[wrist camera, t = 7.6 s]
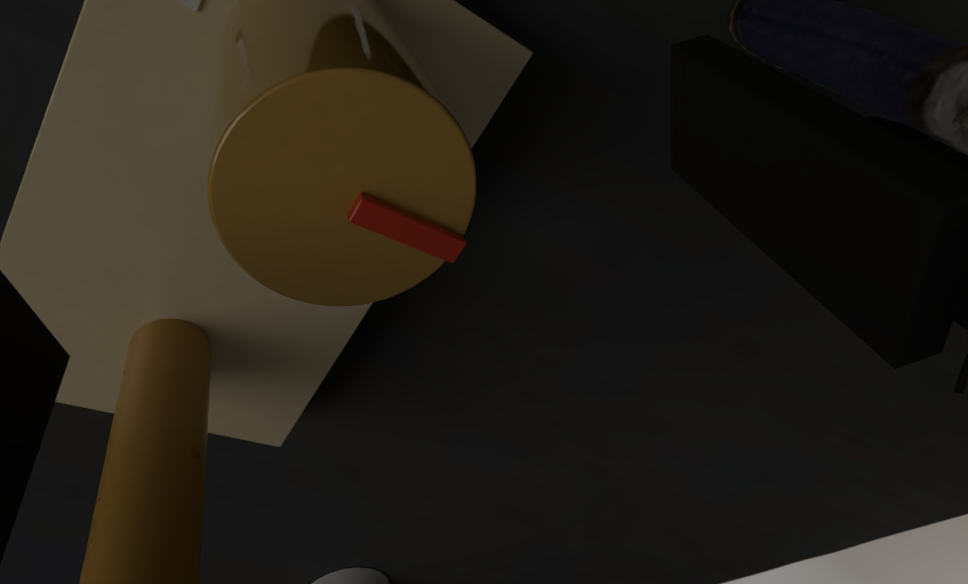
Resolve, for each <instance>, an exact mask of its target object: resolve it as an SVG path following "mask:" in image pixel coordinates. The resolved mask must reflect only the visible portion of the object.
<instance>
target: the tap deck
mask: <svg viewBox="0 0 968 584" xmlns="http://www.w3.org/2000/svg"><path fill="white" fill-rule="evenodd" d="M238 1H239V0H85V1H84V4H83V7H82V10H81V13H80V15H79V18H78V21H77V24H76V27H75V30H74V33H73V35H72V38H71V41H70V44H69V47H68V50H67V53H66V55H65V58H64V61H63V64H62V67H61V70H60V73H59V75H58V78H57V81H56V84H55V87H54V90H53V93H52V96H51V98H50V101H49V104H48V107H47V110H46V113H45V116H44V118H43V121H42V124H41V127H40V130H39V133H38V136H37V138H36V141H35V144H34V147H33V150H32V153H31V156H30V158H29V161H28V164H27V167H26V170H25V173H24V176H23V178H22V181H21V184H20V187H19V190H18V193H17V196H16V198H15V201H14V204H13V207H12V210H11V213H10V216H9V218H8V221H7V224H6V227H5V230H4V233H3V236H2V238H1V241H0V270H1V271H2V272H3V274H4V275H5V276H6V277H7V279H8V280H9V281H10V282H11V284H12V285H13V286H14V287H15V289H16V290H17V291H18V292H19V293H20V295H21V296H22V297H23V298H24V300H25V301H26V302H27V303H28V305H29V306H30V307H31V308H32V310H33V311H34V312H35V313H36V315H37V316H38V317H39V318H40V320H41V321H42V322H43V323H44V324H45V326H46V327H47V328H48V329H49V331H50V332H51V333H52V334H53V336H54V337H55V338H56V339H57V341H58V342H59V343H60V344H61V346H62V347H63V348H64V349H65V350H66V352H67V353H68V354H69V355H70V358H69V361H68V364H67V367H66V370H65V373H64V376H63V379H62V382H61V385H60V388H59V391H58V394H57V397H56V400H55V402H59V403H64V404H69V405H74V406H79V407H84V408H89V409H94V410H99V411H104V412H109V413H115V408H116V403H117V398H118V394H119V389H120V384H121V379H122V374H123V369H124V364H125V360H126V355H127V350H128V345H129V341H130V338H131V336H132V335H133V333H134V332H135V331H136V330H137V329H138V328H140V327H141V326H143V325H144V324H146V323H149V322H151V321H155V320H159V319H168V318H170V319H181V320H185V321H188V322H191V323H193V324H195V325H197V326H199V327H200V328H201V329H203V330H204V331H205V332H206V334H207V335H208V336H209V338H210V340H211V343H212V360H211V378H210V396H209V414H208V433H213V434H218V435H223V436H227V437H232V438H237V439H242V440H247V441H252V442H257V443H262V444H267V445H272V446H277V447H280V446H281V445H282V443H283V442H284V440H285V439H286V437H287V435H288V434H289V432H290V431H291V429H292V428H293V426H294V425H295V423H296V421H297V420H298V418H299V417H300V415H301V414H302V412H303V411H304V409H305V407H306V406H307V404H308V403H309V401H310V400H311V398H312V396H313V395H314V393H315V392H316V390H317V389H318V387H319V386H320V384H321V382H322V381H323V379H324V378H325V376H326V375H327V373H328V372H329V370H330V368H331V367H332V365H333V364H334V362H335V361H336V359H337V358H338V356H339V354H340V353H341V351H342V350H343V348H344V347H345V345H346V344H347V342H348V340H349V339H350V337H351V336H352V334H353V333H354V331H355V330H356V328H357V326H358V325H359V323H360V322H361V320H362V319H363V317H364V316H365V314H366V312H367V311H368V309H369V308H370V306H371V305H372V303H368V304H362V305H355V306H323V305H316V304H309V303H305V302H302V301H298V300H294V299H291V298H289V297H286V296H283V295H281V294H279V293H277V292H275V291H273V290H271V289H269V288H267V287H265V286H264V285H262V284H261V283H259V282H258V281H256V280H255V279H253V278H252V277H251V276H250V275H249V274H248V273H247V272H245V271H244V270H243V269H242V268H241V267H240V266H239V265H238V264H237V263H236V262H235V260H234V259H233V258H232V257H231V256H230V255H229V253H228V252H227V250H226V249H225V247H224V245H223V244H222V242H221V241H220V239H219V236H218V234H217V232H216V230H215V228H214V225H213V222H212V218H211V215H210V211H209V204H208V196H207V188H208V171H209V160H210V148H211V137H212V126H213V115H214V104H215V93H216V82H217V71H218V60H219V49H220V42H221V36H222V32H223V29H224V26H225V23H226V21H227V19H228V17H229V15H230V13H231V11H232V9H233V8H234V7H235V5H236V4H237V2H238ZM377 1H378V2H379V3H380V4H381V5H382V7H383V8H384V9H385V10H386V12H387V13H388V15H389V16H390V18H391V19H392V21H393V22H394V24H395V26H396V27H397V29H398V30H399V32H400V33H401V35H402V36H403V38H404V40H405V41H406V43H407V44H408V46H409V47H410V49H411V50H412V52H413V54H414V55H415V57H416V58H417V60H418V61H419V63H420V64H421V66H422V68H423V69H424V71H425V72H426V74H427V75H428V77H429V78H430V80H431V82H432V83H433V85H434V86H435V88H436V89H437V91H438V92H439V94H440V96H441V97H442V99H443V100H444V102H445V103H446V105H447V106H448V108H449V110H450V111H451V113H452V114H453V116H454V117H455V119H456V120H457V122H458V124H459V125H460V127H461V128H462V130H463V131H464V134H465V136H466V138H467V140H468V142H469V144H470V147H471V149H472V147H473V146H474V144H475V143H476V141H477V140H478V138H479V137H480V135H481V133H482V132H483V130H484V129H485V127H486V126H487V124H488V123H489V121H490V119H491V118H492V116H493V115H494V113H495V112H496V110H497V109H498V107H499V105H500V104H501V102H502V101H503V99H504V98H505V96H506V94H507V93H508V91H509V90H510V88H511V87H512V85H513V84H514V82H515V80H516V79H517V77H518V76H519V74H520V73H521V71H522V70H523V68H524V66H525V65H526V63H527V62H528V60H529V59H530V57H531V56H532V54H533V53H532V51H531V50H530V49H529V48H527V47H526V46H525V45H524V44H523V43H522V42H521V41H520V40H519V39H518V38H516V37H515V36H514V35H513V34H512V33H511V32H510V31H509V30H508V29H506V28H505V27H503V26H502V25H500V24H499V23H497V22H496V21H494V20H493V19H491V18H490V17H488V16H487V15H485V14H484V13H482V12H481V11H479V10H478V9H476V8H475V7H473V6H472V5H470V4H469V3H467V2H466V1H464V0H377Z"/></svg>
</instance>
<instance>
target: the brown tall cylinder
mask: <svg viewBox="0 0 968 584" xmlns="http://www.w3.org/2000/svg"><path fill="white" fill-rule="evenodd" d="M211 360H212V343H211V340H210V338H209V336H208V335H207V334H206V332H205V331H204V330H203V329H201V328H200V327H199V326H197V325H195V324H193V323H191V322H188V321H185V320H181V319H170V318H168V319H159V320H155V321H151V322H149V323H146V324H144V325H143V326H141V327H140V328H138V329H137V330H136V331H135V332H134V333H133V335H132V336H131V338H130V341H129V345H128V350H127V355H126V360H125V364H124V369H123V374H122V379H121V384H120V389H119V394H118V398H117V403H116V408H115V413H114V418H113V423H112V428H111V432H110V437H109V442H108V447H107V452H106V457H105V462H104V466H103V471H102V476H101V481H100V486H99V491H98V496H97V501H96V505H95V510H94V515H93V520H92V525H91V530H90V535H89V539H88V544H87V549H86V554H85V559H84V564H83V569H82V573H81V578H80V583H79V584H199V577H200V559H201V541H202V523H203V505H204V487H205V468H206V450H207V432H208V414H209V396H210V378H211Z"/></svg>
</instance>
